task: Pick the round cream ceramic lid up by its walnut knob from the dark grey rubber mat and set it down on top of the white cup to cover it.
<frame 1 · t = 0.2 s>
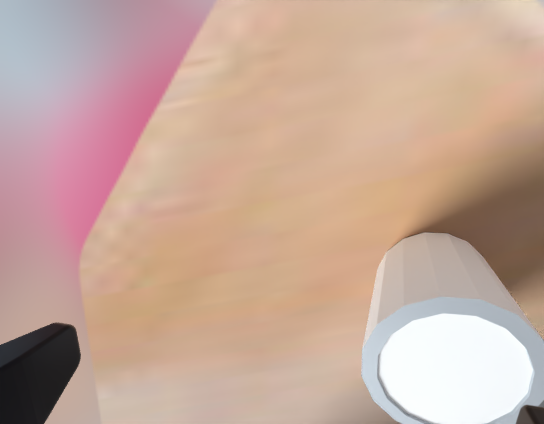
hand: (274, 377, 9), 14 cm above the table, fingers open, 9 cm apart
white cup: (430, 278, 23), on the table
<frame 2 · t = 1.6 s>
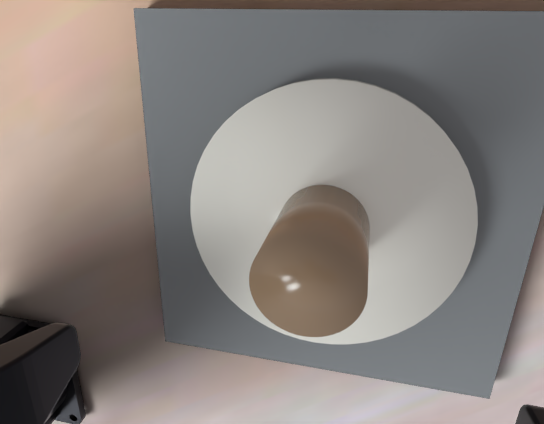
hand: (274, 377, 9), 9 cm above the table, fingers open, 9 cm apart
mat: (328, 211, 16), on the table
lid: (325, 219, 16), point 1 cm above the table, touching mat
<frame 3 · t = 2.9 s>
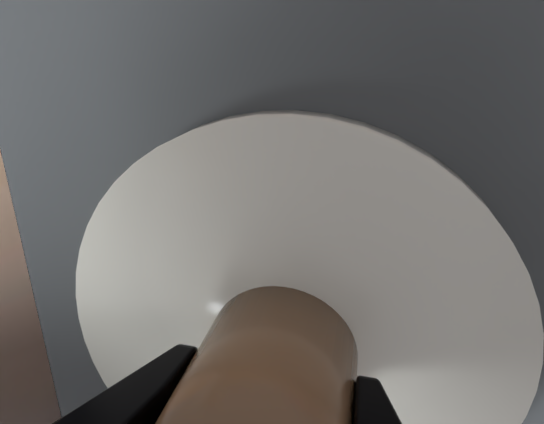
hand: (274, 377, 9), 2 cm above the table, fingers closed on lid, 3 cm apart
mat: (296, 307, 11), on the table
lid: (289, 327, 10), point 1 cm above the table, touching gripper, mat
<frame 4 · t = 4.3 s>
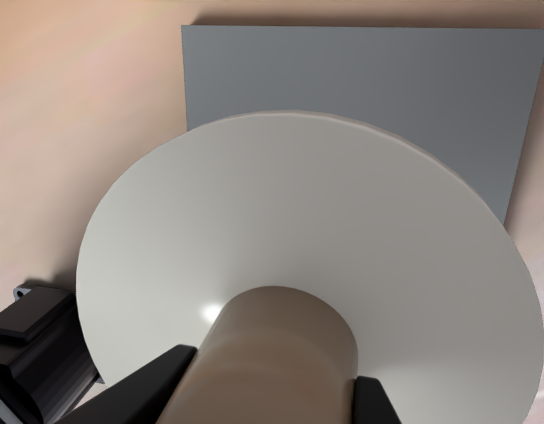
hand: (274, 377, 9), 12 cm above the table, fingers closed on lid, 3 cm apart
mat: (338, 191, 20), on the table
lid: (289, 327, 10), point 11 cm above the table, touching gripper
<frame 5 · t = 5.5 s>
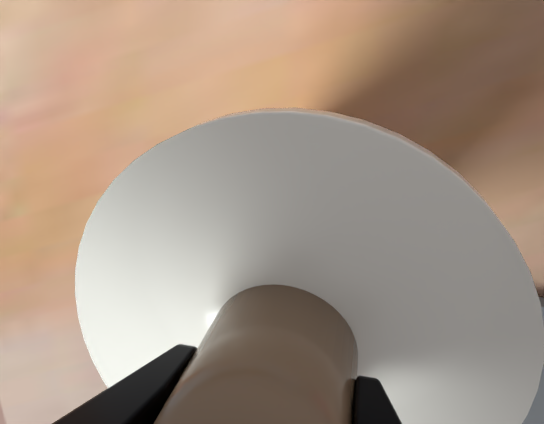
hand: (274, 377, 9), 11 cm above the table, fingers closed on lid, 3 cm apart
mat: (519, 419, 21), on the table
lid: (289, 326, 10), point 10 cm above the table, touching gripper
when the fingers open (10 cm above the table, at t = 6.0 s): lid drops 1 cm, resting on white cup.
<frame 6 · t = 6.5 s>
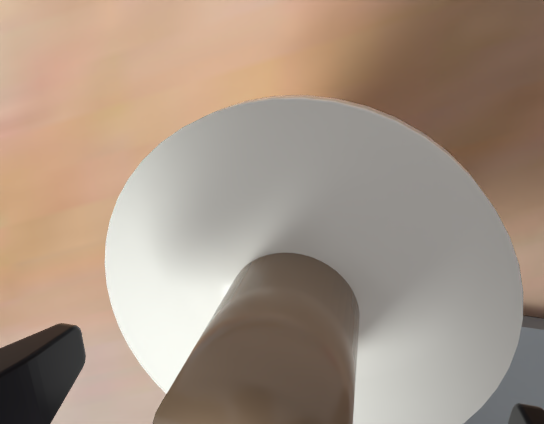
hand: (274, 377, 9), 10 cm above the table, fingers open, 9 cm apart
lid: (297, 293, 11), point 7 cm above the table, touching white cup
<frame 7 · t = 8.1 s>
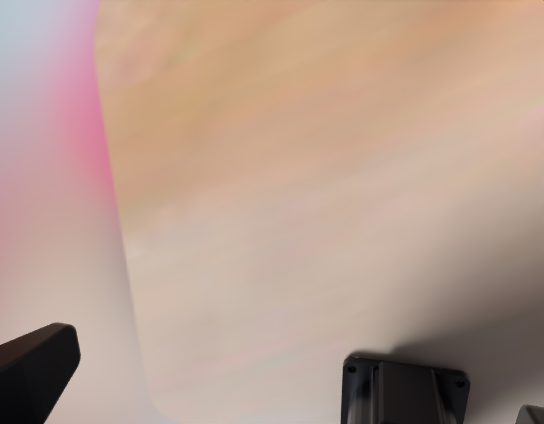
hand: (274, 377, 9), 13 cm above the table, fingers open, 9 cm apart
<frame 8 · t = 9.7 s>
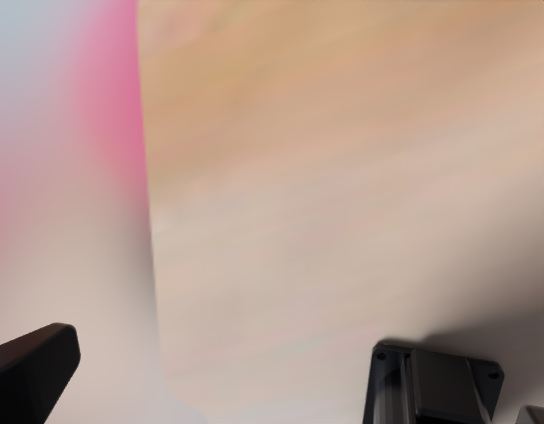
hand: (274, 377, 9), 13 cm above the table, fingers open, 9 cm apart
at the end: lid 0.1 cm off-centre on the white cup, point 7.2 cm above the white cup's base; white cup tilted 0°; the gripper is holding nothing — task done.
